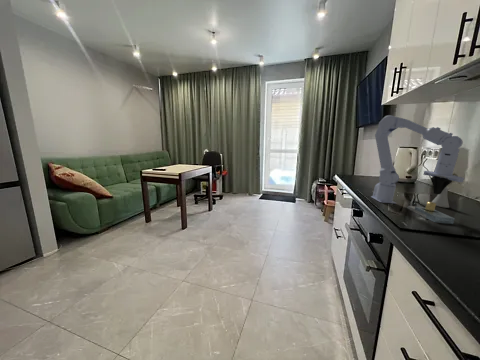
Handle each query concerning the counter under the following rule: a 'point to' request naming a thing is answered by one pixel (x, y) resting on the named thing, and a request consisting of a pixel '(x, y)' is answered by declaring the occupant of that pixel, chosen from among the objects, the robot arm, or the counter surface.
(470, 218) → the counter surface
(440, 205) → the flask
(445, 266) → the counter surface
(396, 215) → the counter surface
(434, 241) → the counter surface
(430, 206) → the yellow upright block
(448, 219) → the pale blue flat bar
